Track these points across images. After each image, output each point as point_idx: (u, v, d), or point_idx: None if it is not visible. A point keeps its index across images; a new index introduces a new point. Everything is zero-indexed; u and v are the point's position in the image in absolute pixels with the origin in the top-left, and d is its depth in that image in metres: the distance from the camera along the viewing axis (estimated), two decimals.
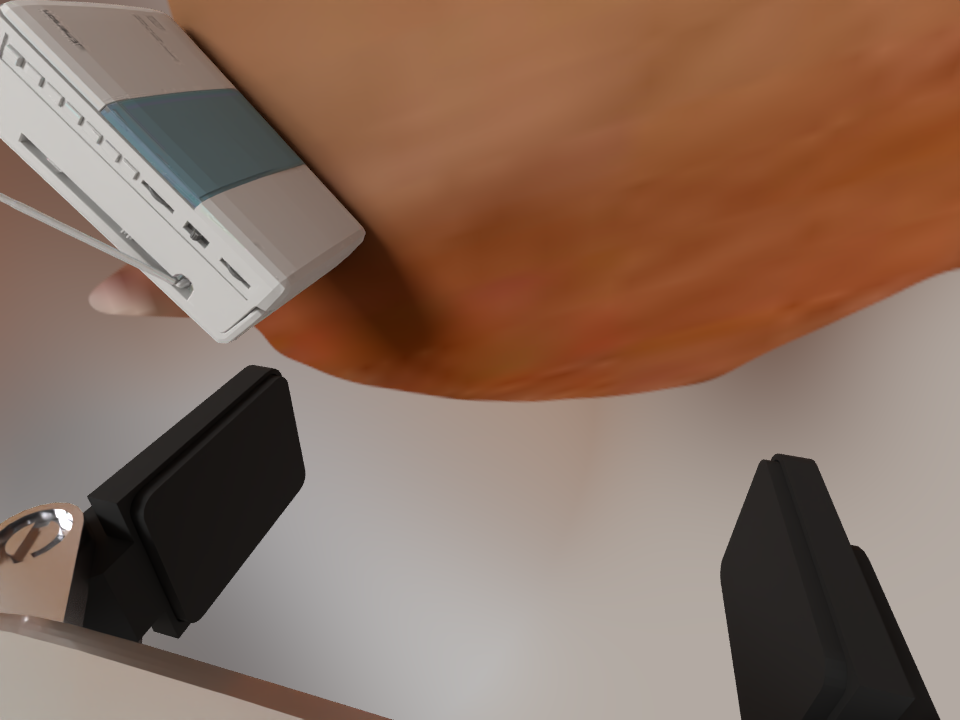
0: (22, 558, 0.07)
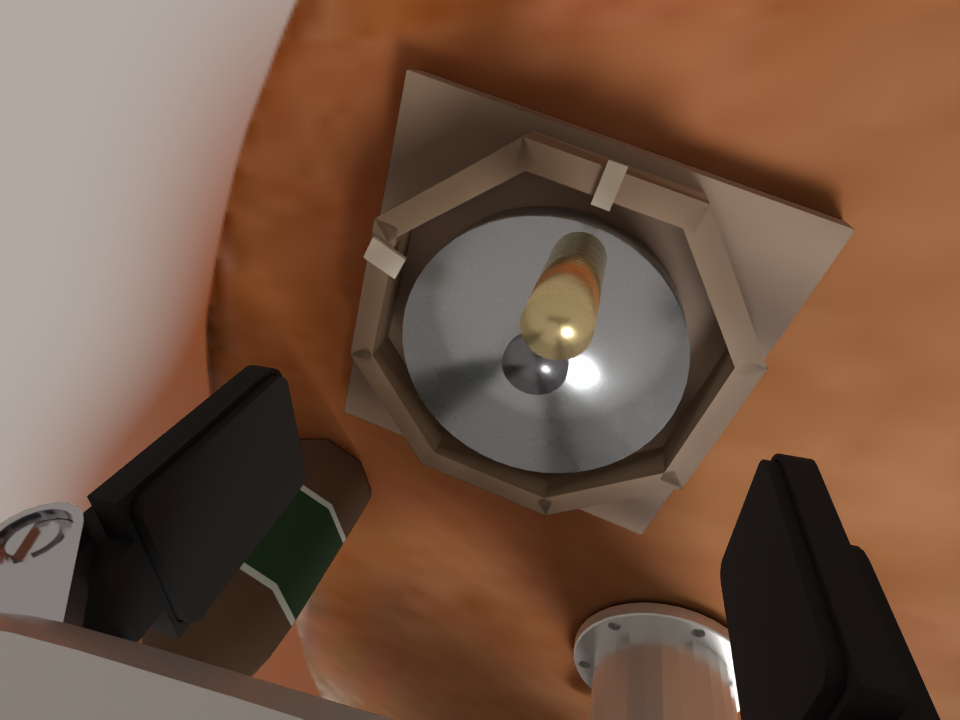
0: (22, 558, 0.07)
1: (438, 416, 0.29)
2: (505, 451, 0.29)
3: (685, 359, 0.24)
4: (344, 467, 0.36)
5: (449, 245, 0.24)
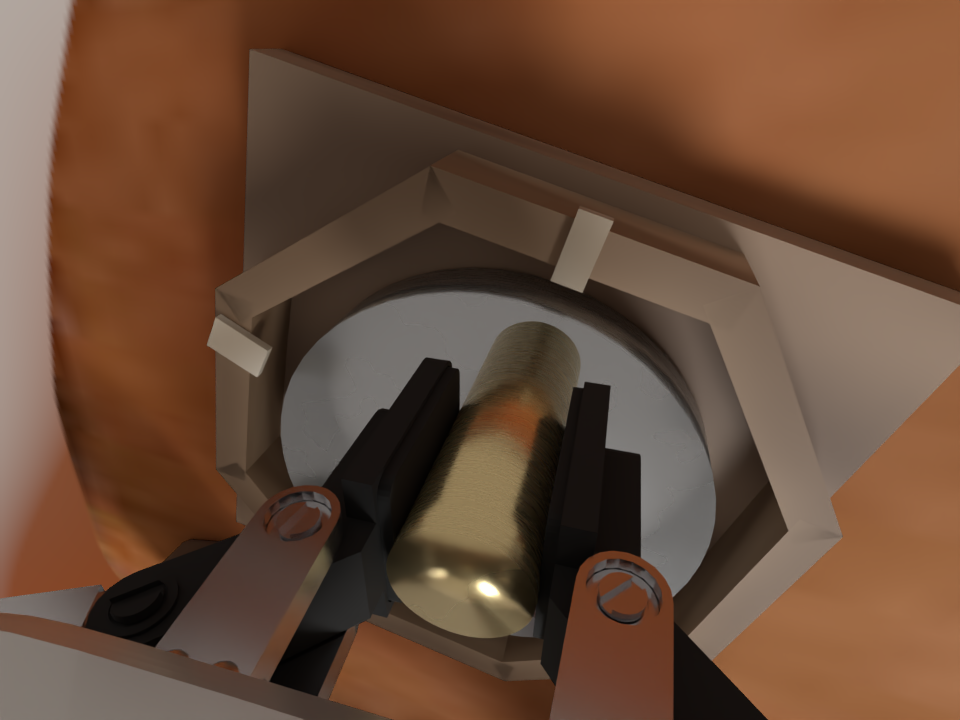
0: (285, 533, 0.08)
1: None
2: None
3: (709, 513, 0.15)
4: None
5: (332, 332, 0.15)
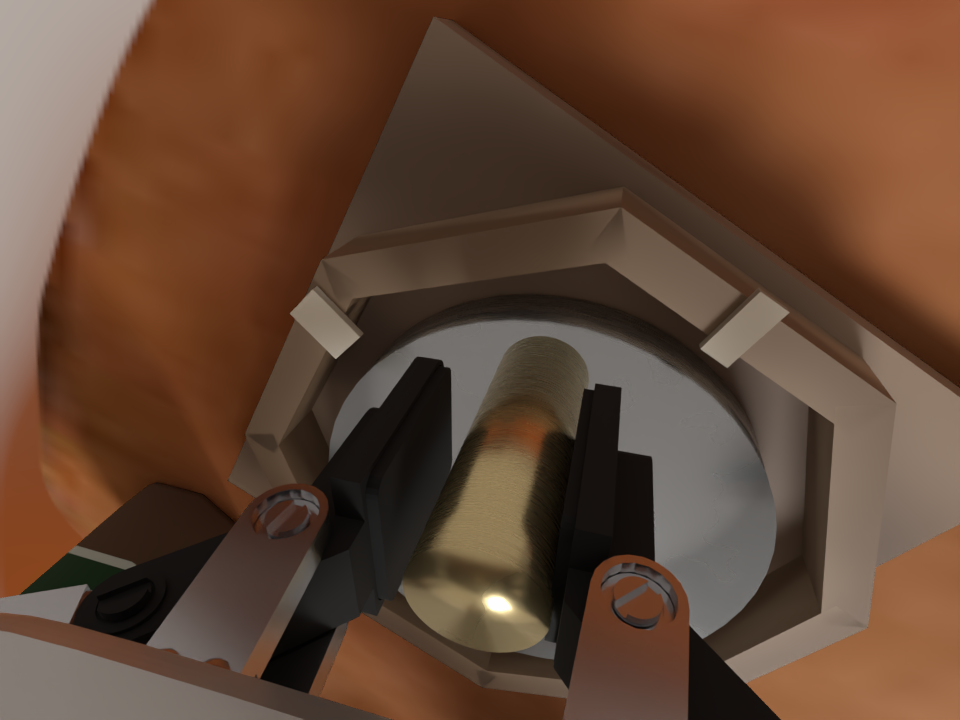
0: (273, 531, 0.08)
1: None
2: None
3: (764, 493, 0.14)
4: None
5: (354, 391, 0.16)
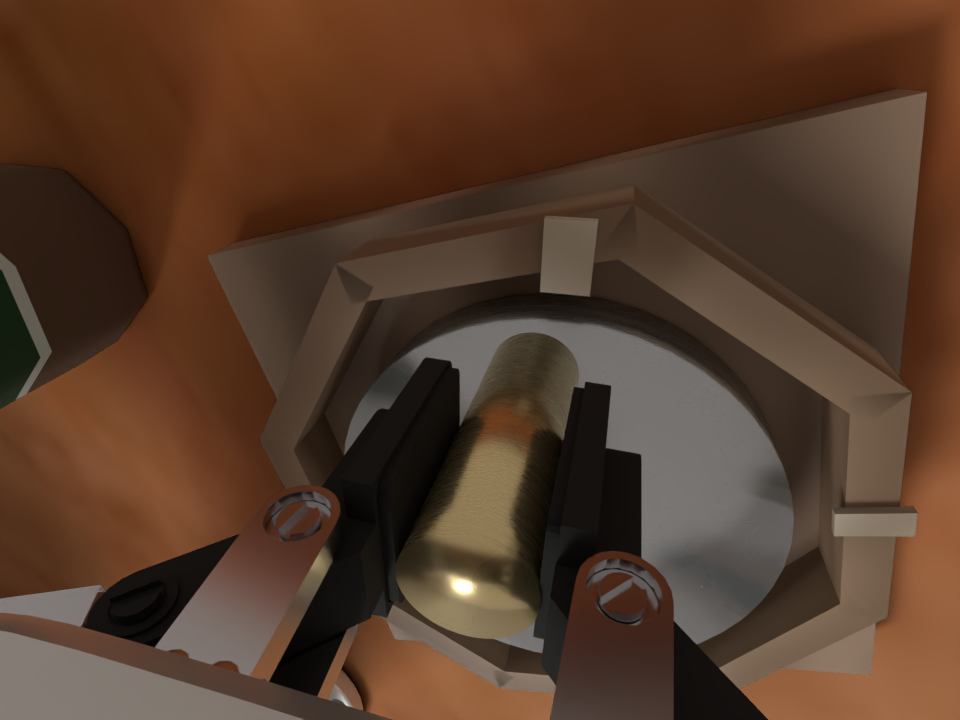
0: (284, 533, 0.08)
1: None
2: None
3: (773, 462, 0.14)
4: (118, 295, 0.20)
5: (359, 410, 0.17)
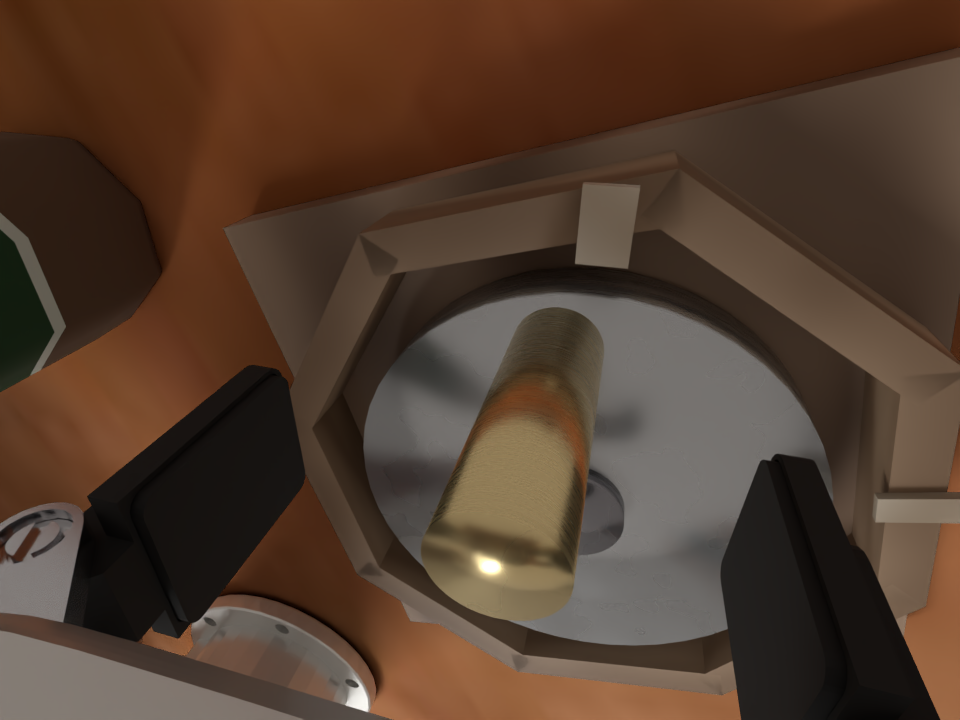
0: (22, 558, 0.07)
1: None
2: (591, 627, 0.19)
3: (811, 437, 0.13)
4: (132, 270, 0.19)
5: (377, 393, 0.16)
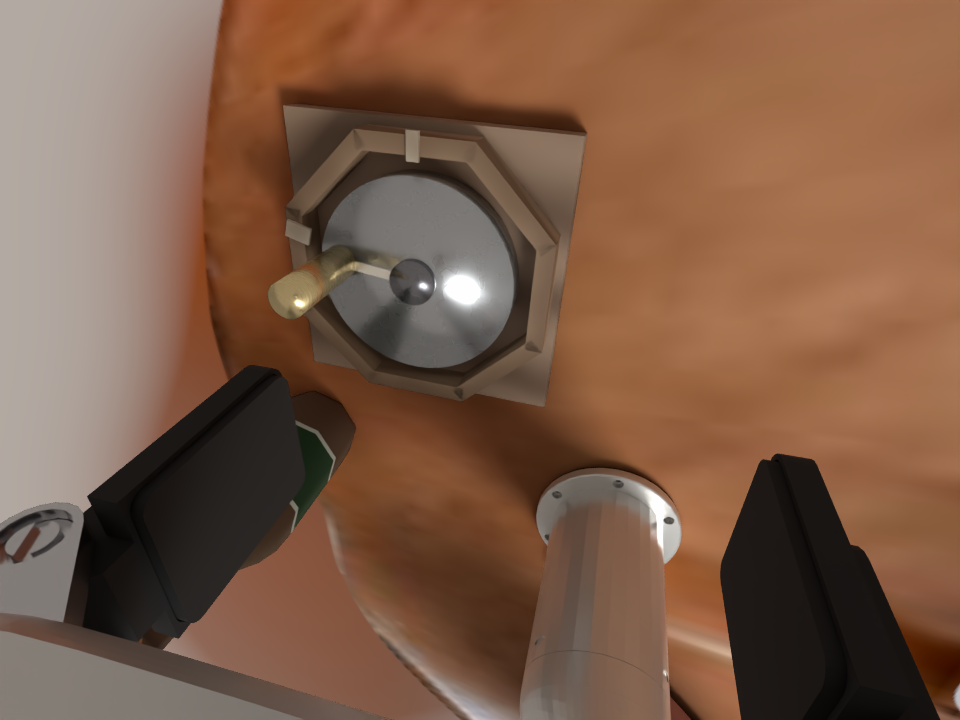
0: (22, 558, 0.07)
1: (482, 348, 0.38)
2: (499, 298, 0.36)
3: (380, 181, 0.34)
4: (327, 407, 0.48)
5: (358, 335, 0.40)
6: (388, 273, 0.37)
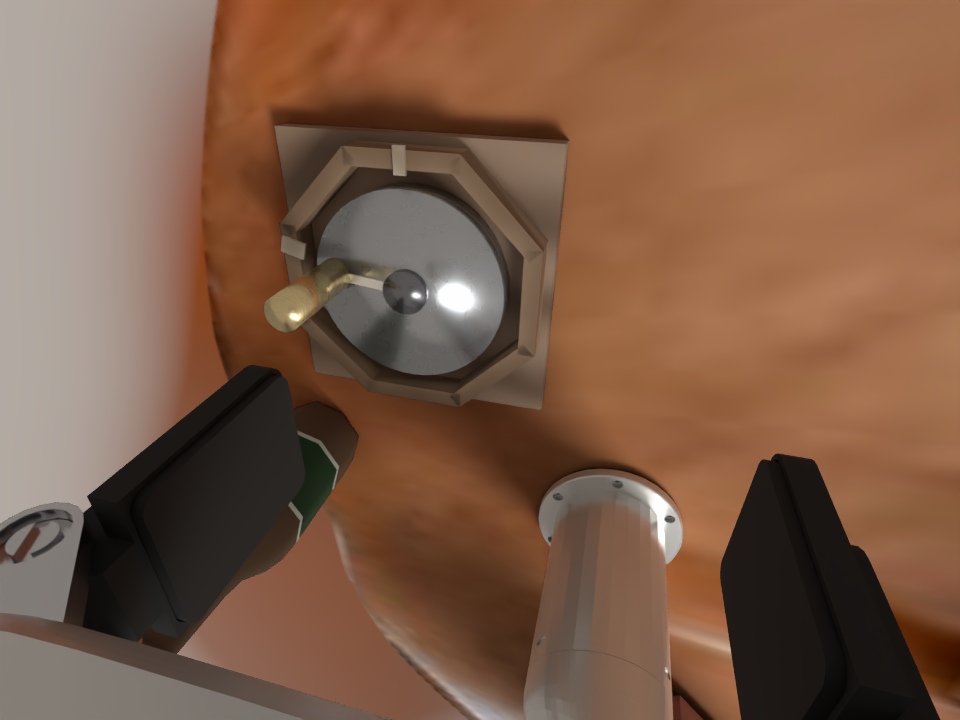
0: (22, 558, 0.07)
1: (476, 354, 0.39)
2: (490, 305, 0.37)
3: (369, 195, 0.35)
4: (329, 417, 0.49)
5: (355, 345, 0.41)
6: (381, 284, 0.38)
